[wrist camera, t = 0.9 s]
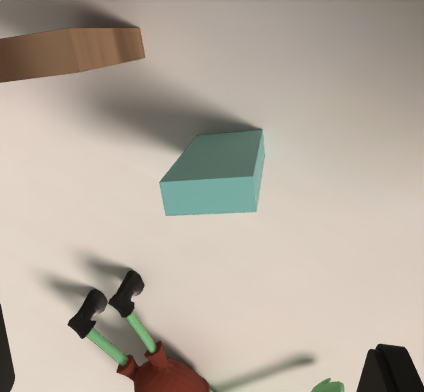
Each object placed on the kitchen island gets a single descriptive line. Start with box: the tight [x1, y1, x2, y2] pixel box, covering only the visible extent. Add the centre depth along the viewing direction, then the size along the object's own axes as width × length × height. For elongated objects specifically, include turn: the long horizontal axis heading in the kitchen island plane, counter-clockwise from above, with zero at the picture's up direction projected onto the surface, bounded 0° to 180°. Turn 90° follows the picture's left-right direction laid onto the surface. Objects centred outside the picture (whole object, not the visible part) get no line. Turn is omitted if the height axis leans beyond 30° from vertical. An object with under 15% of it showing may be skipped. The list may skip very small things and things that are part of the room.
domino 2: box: [159, 130, 265, 216], centre depth 25 cm, size 5×2×10 cm, turn 98°
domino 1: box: [0, 28, 145, 83], centre depth 24 cm, size 5×2×10 cm, turn 98°
